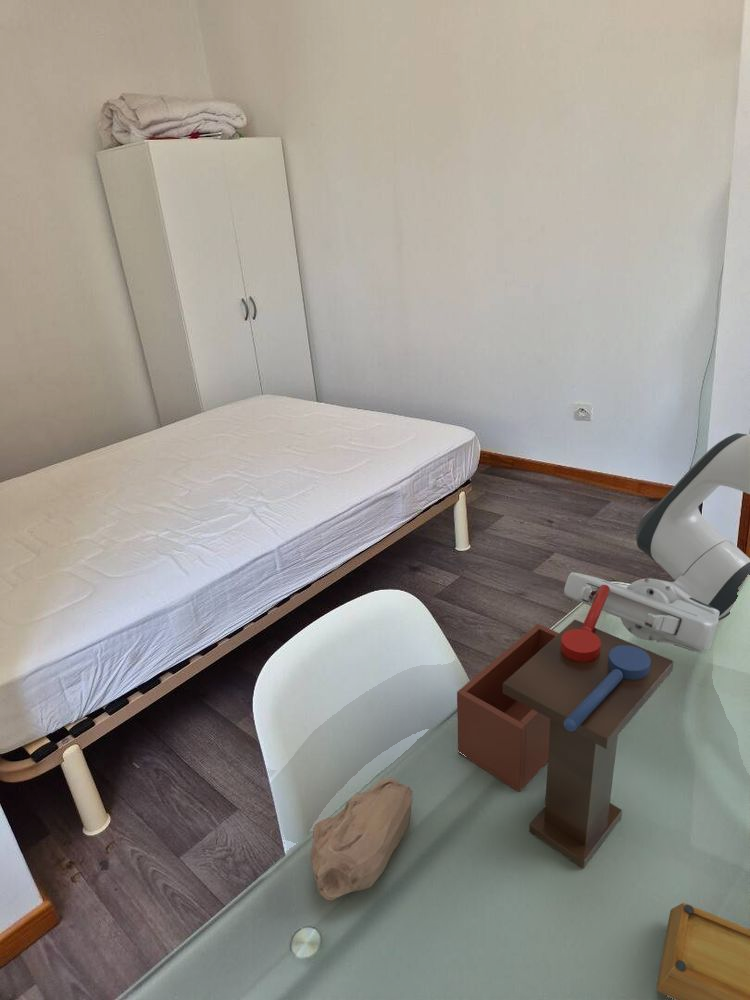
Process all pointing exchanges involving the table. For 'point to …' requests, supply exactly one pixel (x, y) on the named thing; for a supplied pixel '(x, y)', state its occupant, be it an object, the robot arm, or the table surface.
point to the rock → (360, 839)
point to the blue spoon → (612, 680)
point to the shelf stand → (580, 740)
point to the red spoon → (585, 632)
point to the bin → (504, 717)
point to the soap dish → (704, 957)
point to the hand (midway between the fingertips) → (617, 607)
